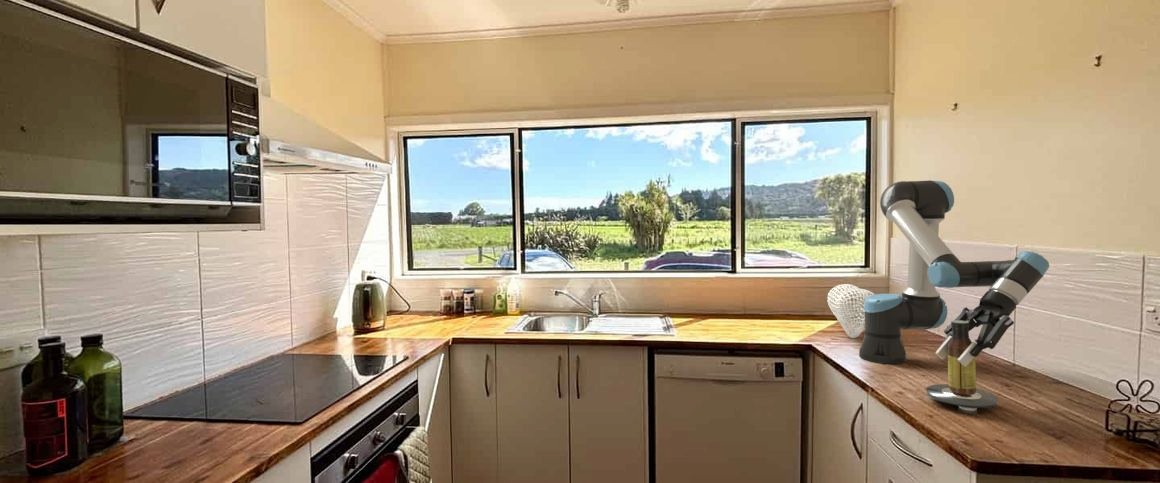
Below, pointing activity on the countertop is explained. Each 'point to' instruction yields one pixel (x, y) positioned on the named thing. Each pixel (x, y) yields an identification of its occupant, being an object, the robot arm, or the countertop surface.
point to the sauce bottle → (959, 375)
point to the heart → (839, 313)
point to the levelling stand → (962, 398)
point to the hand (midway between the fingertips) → (950, 359)
